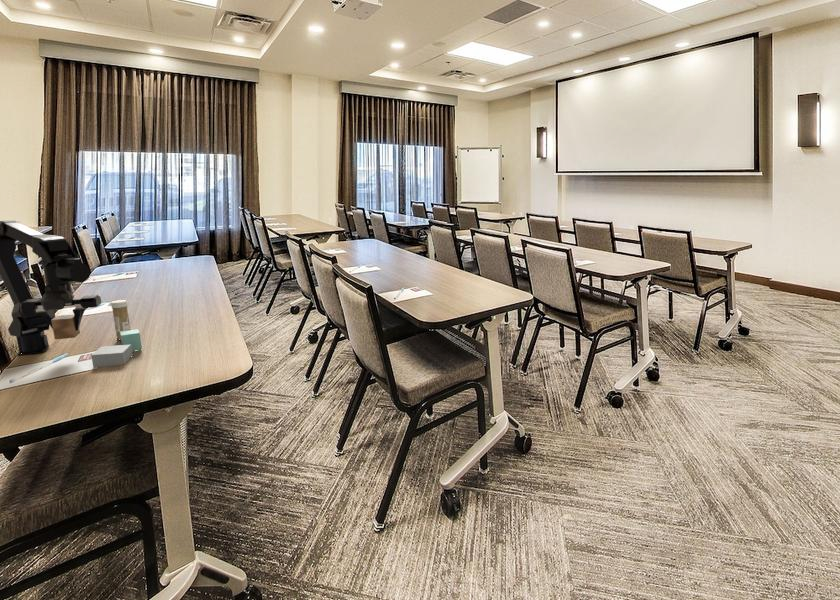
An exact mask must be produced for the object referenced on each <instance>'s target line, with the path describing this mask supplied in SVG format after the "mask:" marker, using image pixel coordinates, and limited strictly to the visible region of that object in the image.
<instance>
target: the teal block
mask: <svg viewBox="0 0 840 600" xmlns="http://www.w3.org/2000/svg"><path fill="white" fill-rule="evenodd" d="M120 335H121V341H120V343H121V345H129V344H131V347H132V351H135V350H141V349H142V350H143V347H142V341H141V333H140V331H139V328H135V329H130V330H128V331H121V332H120Z"/></svg>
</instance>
